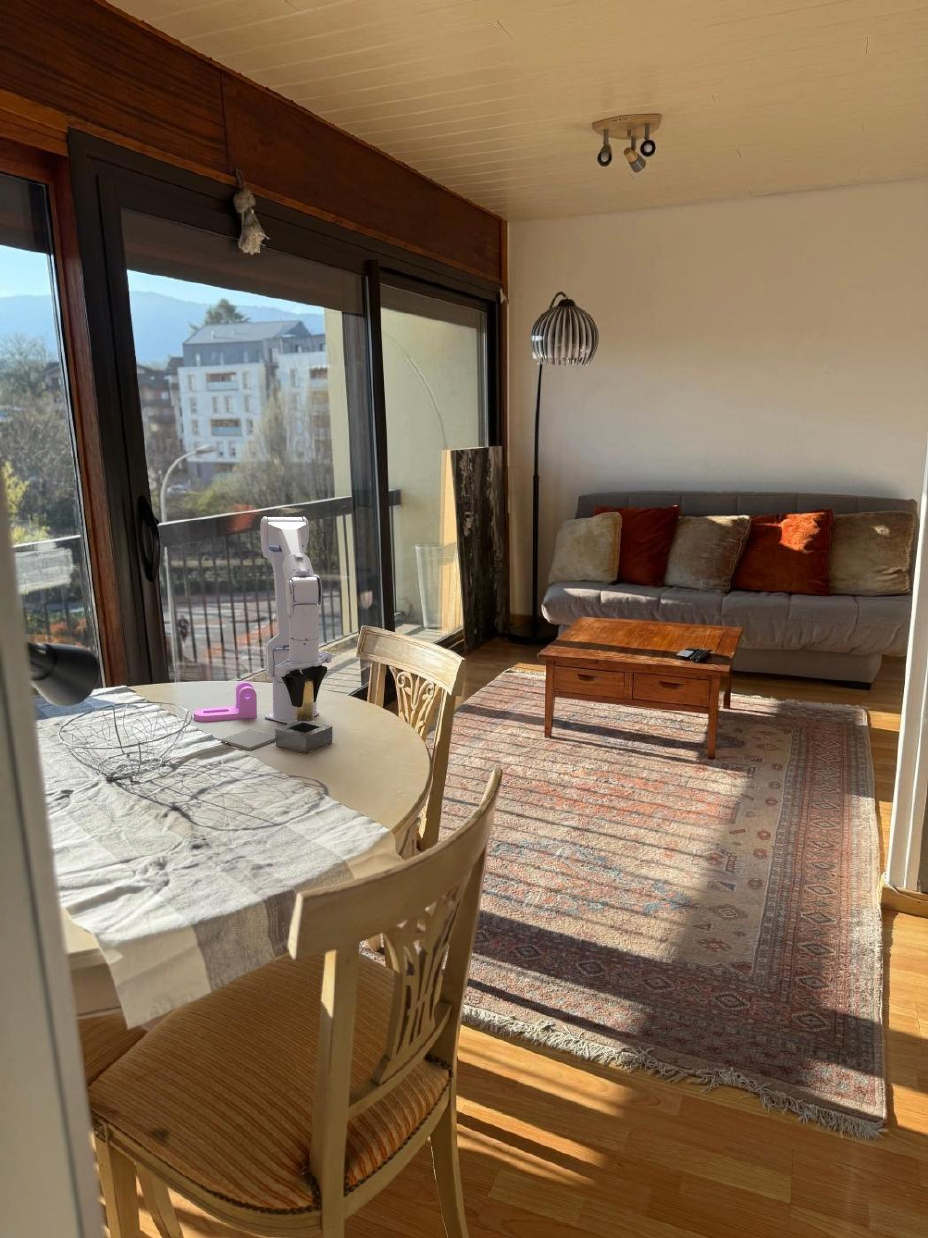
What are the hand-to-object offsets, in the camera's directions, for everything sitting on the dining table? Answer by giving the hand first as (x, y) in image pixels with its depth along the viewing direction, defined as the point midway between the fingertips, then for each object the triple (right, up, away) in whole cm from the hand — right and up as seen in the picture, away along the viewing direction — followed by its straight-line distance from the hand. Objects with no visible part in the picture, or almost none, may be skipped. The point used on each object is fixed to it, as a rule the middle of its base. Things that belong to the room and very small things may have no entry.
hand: (303, 703), depth 174 cm
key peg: (0, -3, +1) cm, 3 cm away
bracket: (-21, -5, +18) cm, 27 cm away
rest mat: (-11, -8, +3) cm, 14 cm away
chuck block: (0, -8, +2) cm, 8 cm away
